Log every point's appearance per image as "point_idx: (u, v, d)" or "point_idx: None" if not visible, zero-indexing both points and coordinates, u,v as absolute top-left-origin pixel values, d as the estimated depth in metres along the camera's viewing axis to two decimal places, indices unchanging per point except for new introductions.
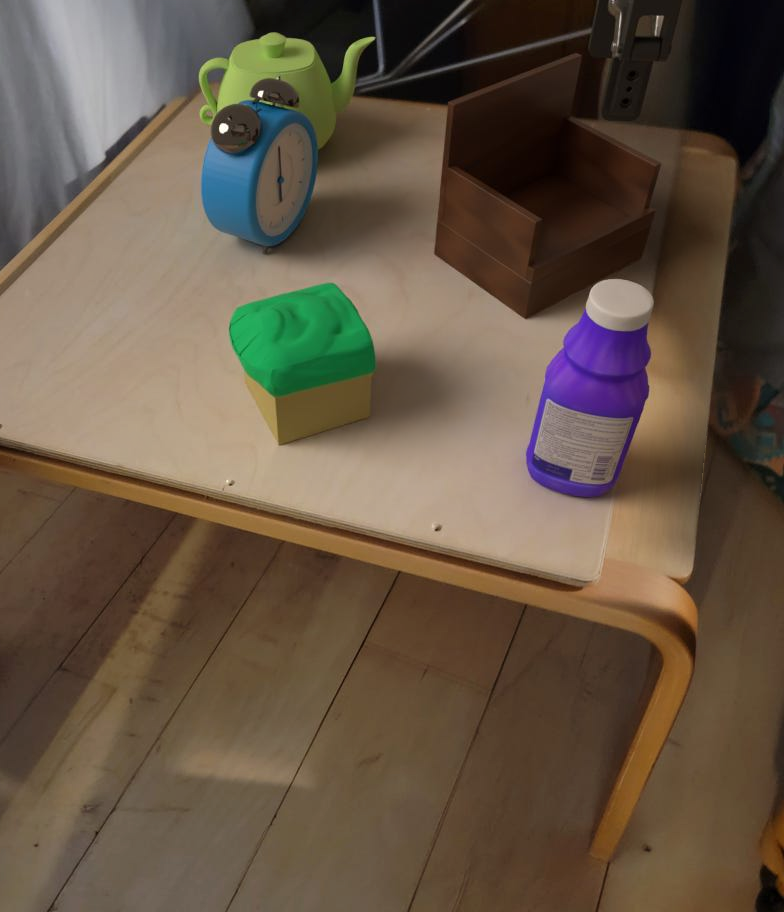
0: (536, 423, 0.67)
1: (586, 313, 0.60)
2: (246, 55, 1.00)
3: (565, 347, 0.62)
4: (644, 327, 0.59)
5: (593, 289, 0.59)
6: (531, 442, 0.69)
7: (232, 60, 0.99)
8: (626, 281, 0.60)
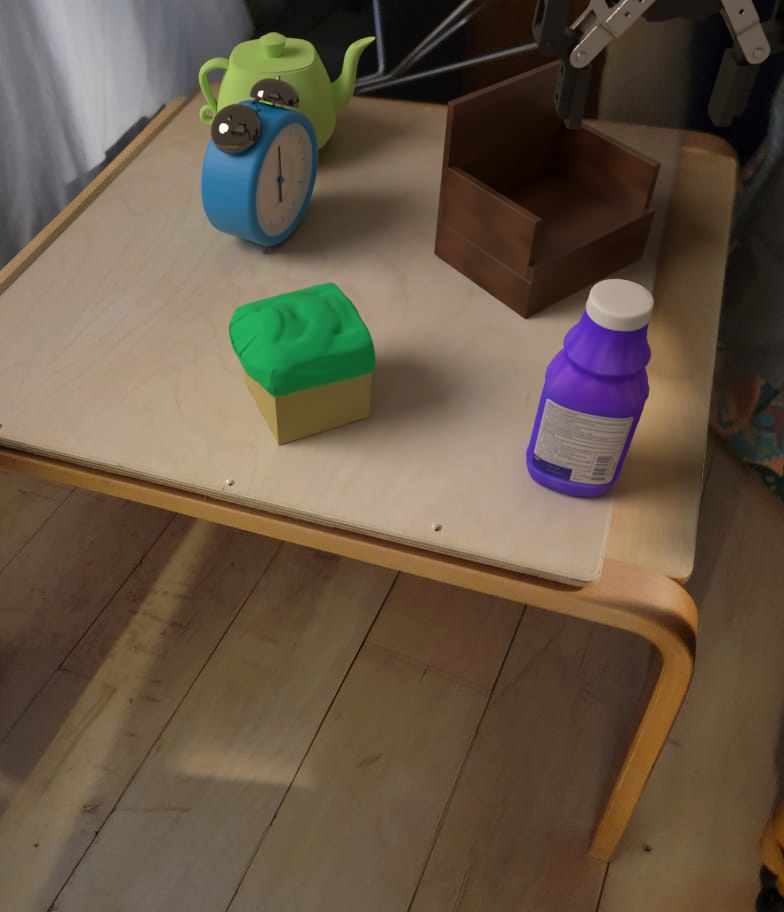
0: (536, 423, 0.67)
1: (586, 313, 0.60)
2: (246, 55, 1.00)
3: (565, 347, 0.62)
4: (644, 327, 0.59)
5: (593, 289, 0.59)
6: (531, 442, 0.69)
7: (232, 60, 0.99)
8: (626, 281, 0.60)
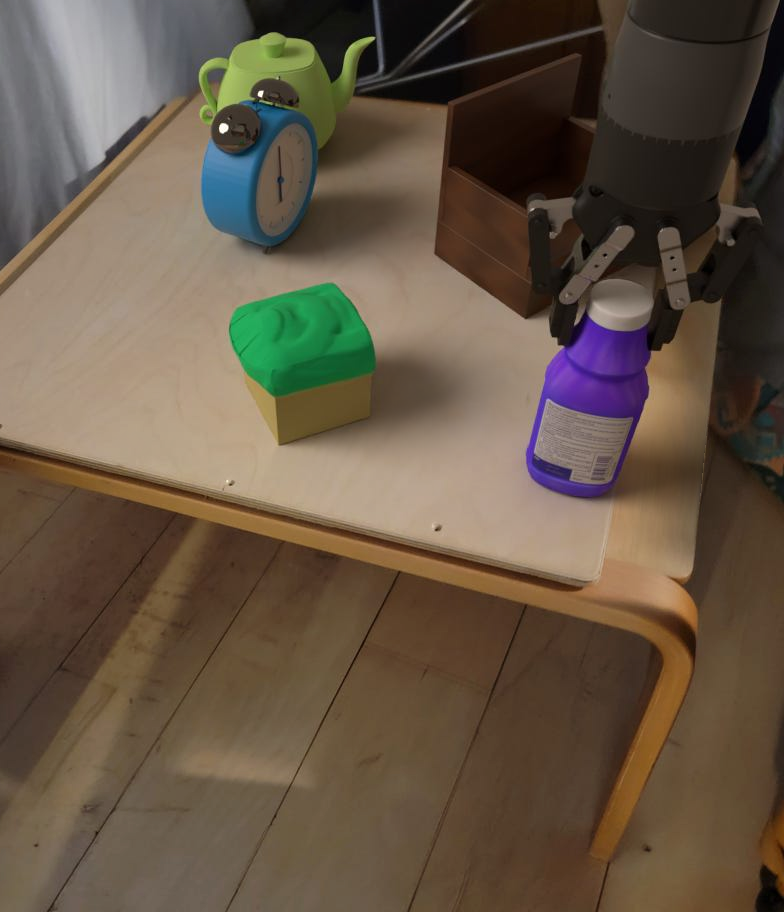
0: (536, 423, 0.67)
1: (586, 313, 0.60)
2: (246, 55, 1.00)
3: (565, 347, 0.62)
4: (644, 327, 0.59)
5: (593, 289, 0.59)
6: (531, 442, 0.69)
7: (232, 60, 0.99)
8: (626, 281, 0.60)
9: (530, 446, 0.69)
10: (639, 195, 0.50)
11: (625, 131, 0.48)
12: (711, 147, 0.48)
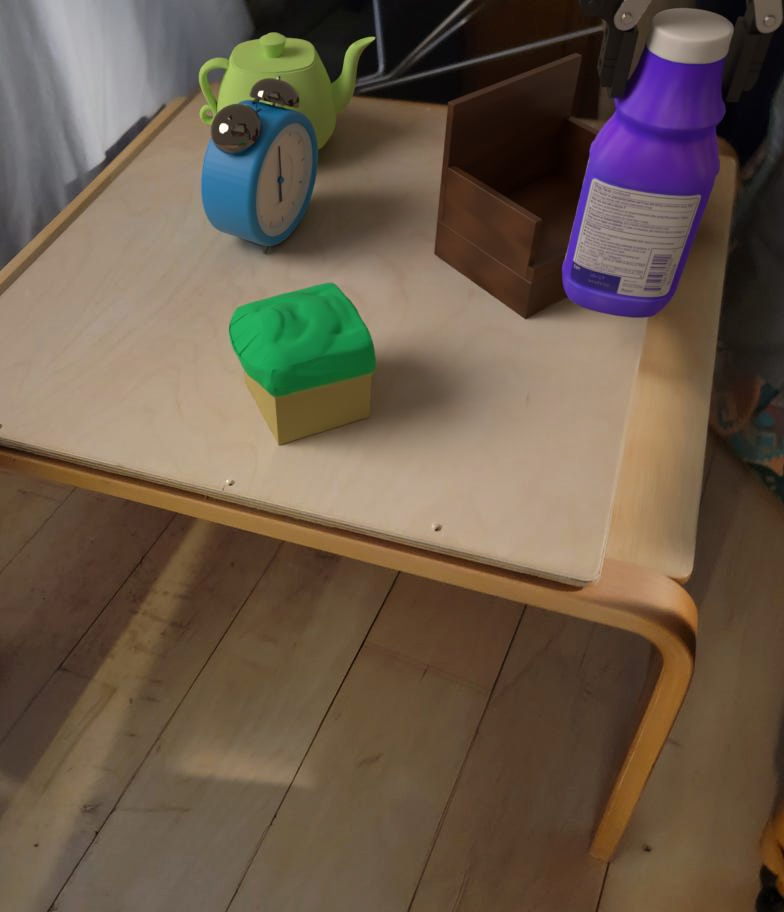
0: (577, 220, 0.55)
1: (646, 49, 0.47)
2: (246, 55, 1.00)
3: (617, 103, 0.50)
4: (721, 61, 0.47)
5: (656, 16, 0.47)
6: (570, 248, 0.56)
7: (232, 60, 0.99)
8: (696, 9, 0.47)
9: (568, 254, 0.57)
10: None
11: None
12: None
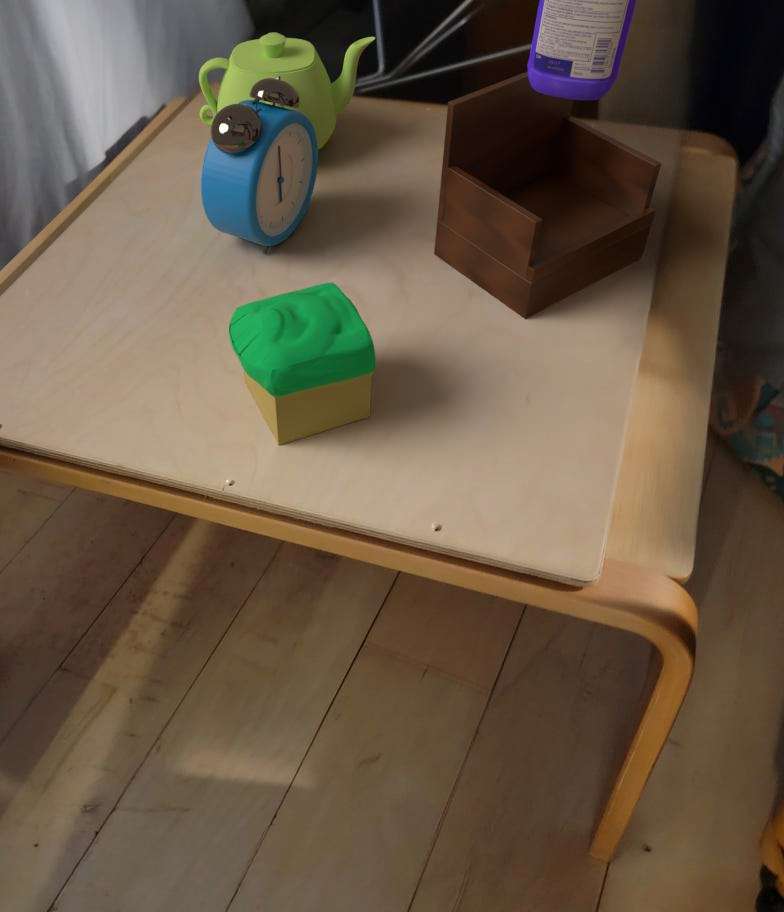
0: (538, 15, 0.69)
1: None
2: (246, 55, 1.00)
3: None
4: None
5: None
6: (533, 42, 0.71)
7: (232, 60, 0.99)
8: None
9: (532, 48, 0.71)
10: None
11: None
12: None
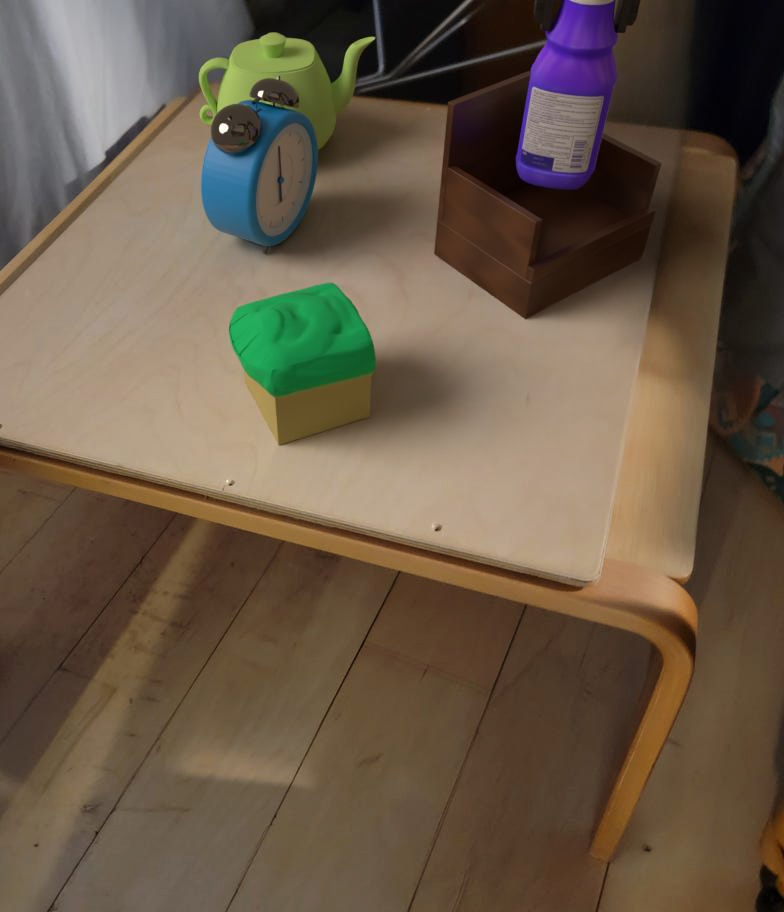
0: (524, 118, 0.80)
1: None
2: (246, 55, 1.00)
3: (547, 34, 0.75)
4: (611, 4, 0.72)
5: None
6: (520, 140, 0.82)
7: (232, 60, 0.99)
8: None
9: (519, 145, 0.82)
10: None
11: None
12: None
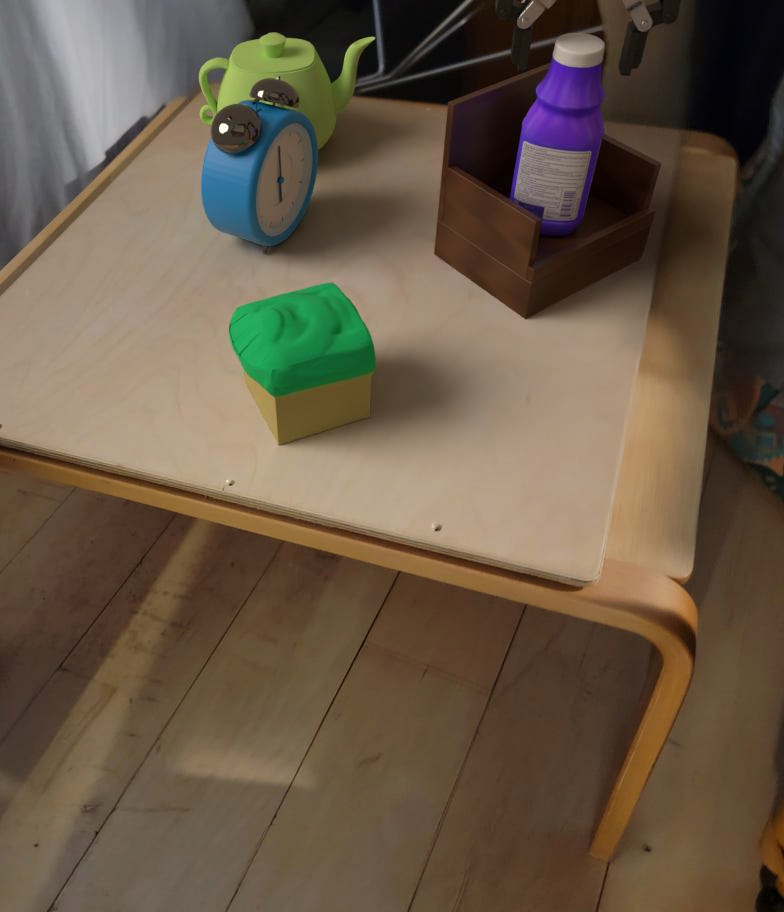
0: (515, 169, 0.84)
1: (553, 58, 0.76)
2: (246, 55, 1.00)
3: (537, 92, 0.78)
4: (597, 66, 0.75)
5: (558, 38, 0.76)
6: (512, 189, 0.85)
7: (232, 60, 0.99)
8: (584, 33, 0.76)
9: (511, 193, 0.86)
10: None
11: None
12: None
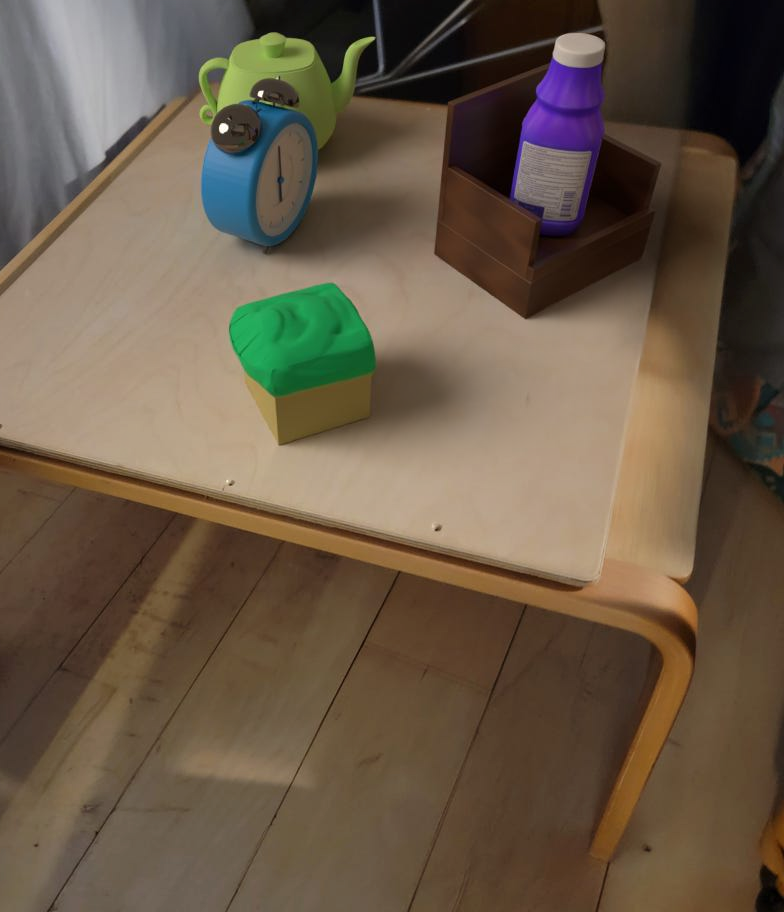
0: (515, 169, 0.84)
1: (553, 58, 0.76)
2: (246, 55, 1.00)
3: (537, 92, 0.78)
4: (598, 66, 0.75)
5: (558, 38, 0.76)
6: (512, 189, 0.85)
7: (232, 60, 0.99)
8: (584, 34, 0.76)
9: (511, 193, 0.86)
10: None
11: None
12: None
